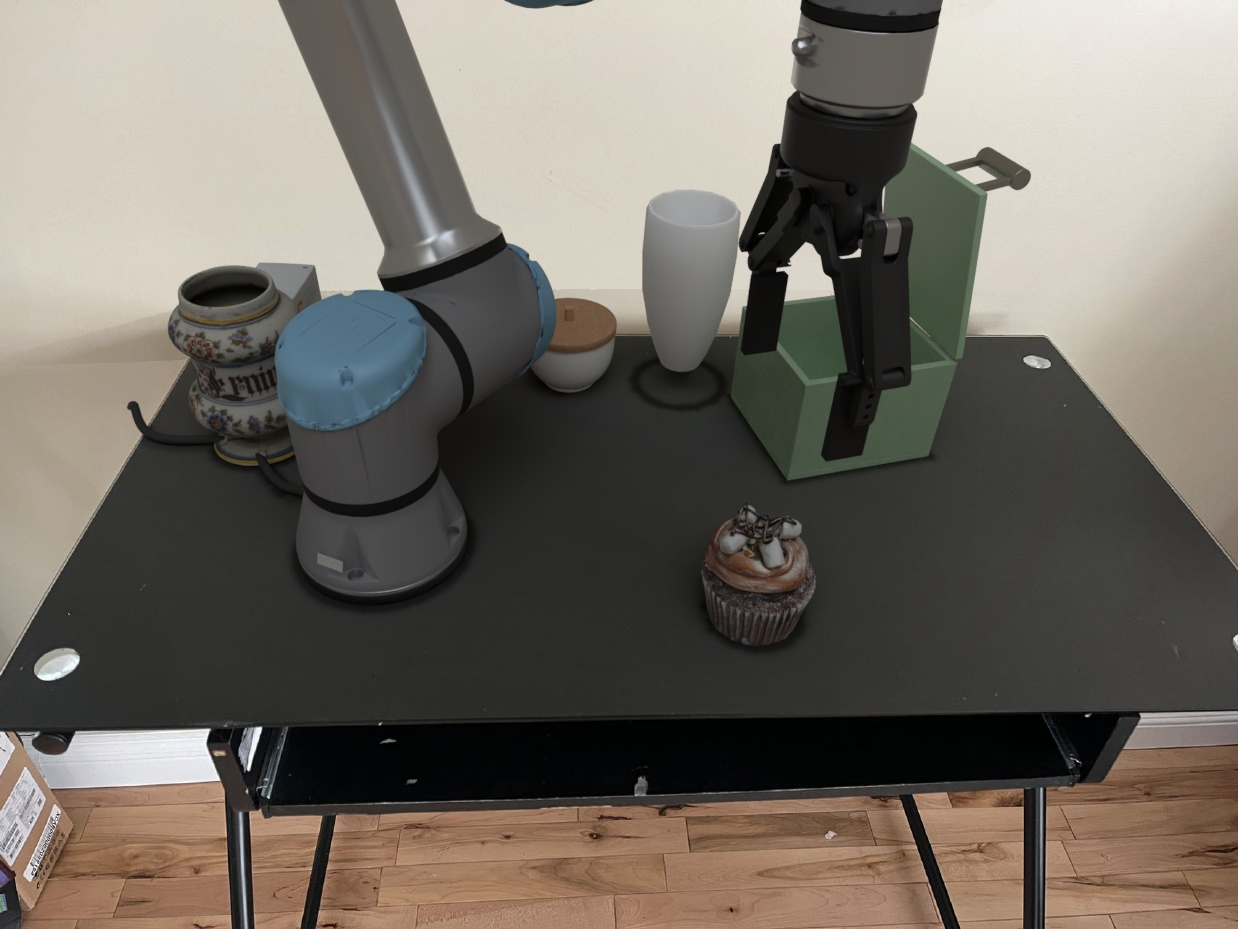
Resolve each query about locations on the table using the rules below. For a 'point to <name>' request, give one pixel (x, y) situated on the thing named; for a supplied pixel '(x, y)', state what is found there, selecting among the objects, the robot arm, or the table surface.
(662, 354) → the cup
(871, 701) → the table surface
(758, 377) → the green open box
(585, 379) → the white bowl with lid
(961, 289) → the green box lid
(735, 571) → the cupcake
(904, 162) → the robot arm
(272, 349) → the apothecary jar
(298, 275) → the small box
